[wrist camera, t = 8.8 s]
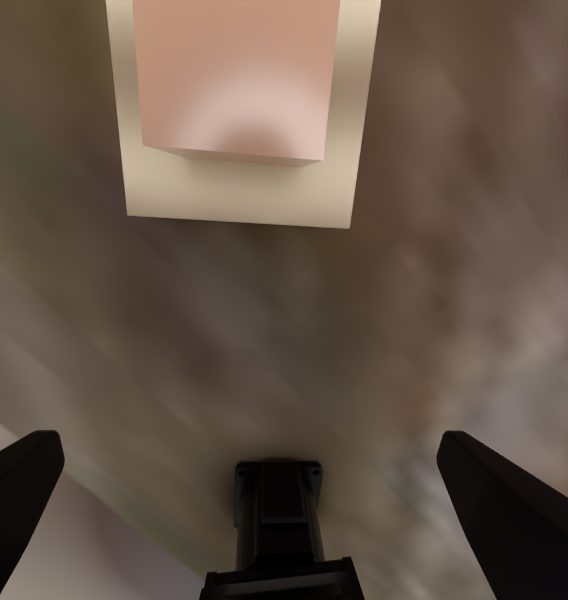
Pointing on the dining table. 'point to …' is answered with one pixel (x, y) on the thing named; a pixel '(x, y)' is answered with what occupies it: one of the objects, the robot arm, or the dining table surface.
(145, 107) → the cube
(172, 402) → the dining table surface
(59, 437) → the robot arm
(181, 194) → the base
